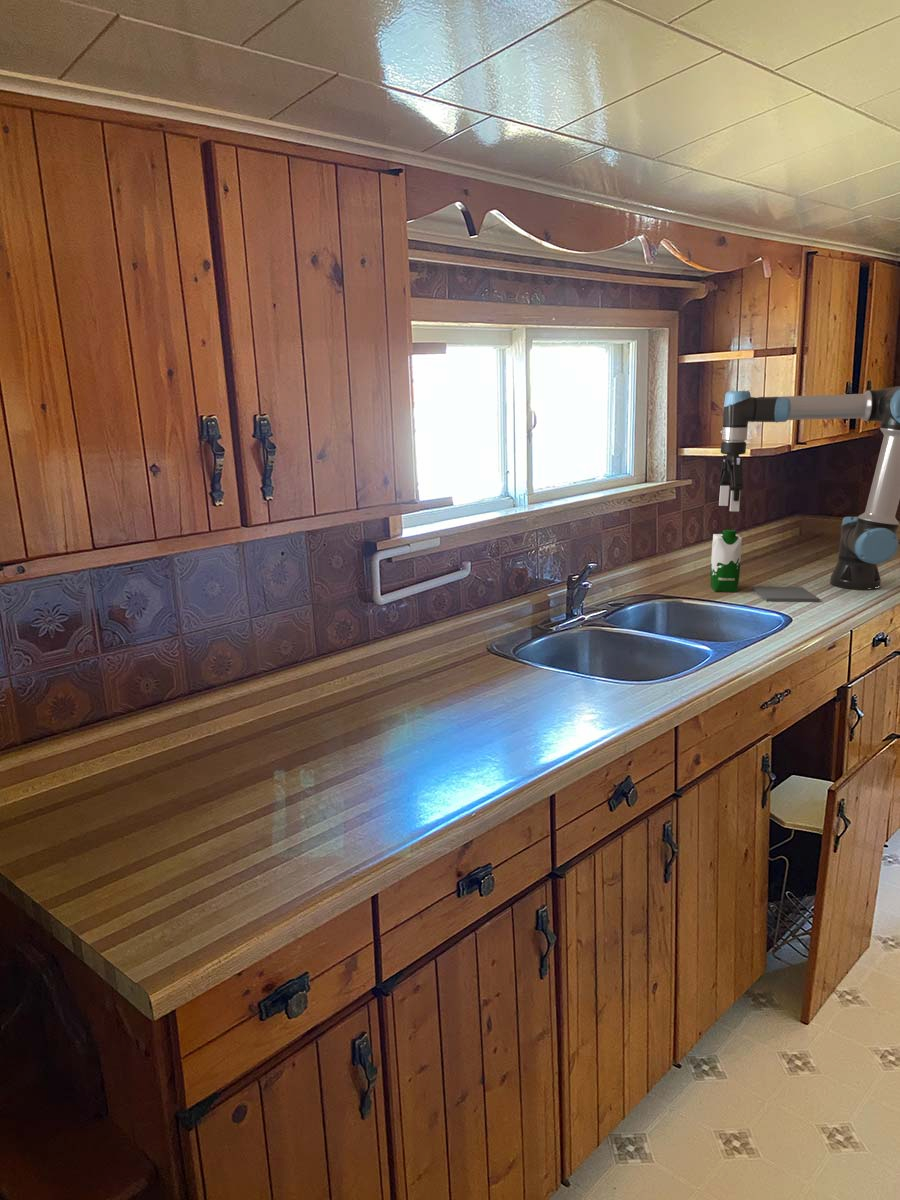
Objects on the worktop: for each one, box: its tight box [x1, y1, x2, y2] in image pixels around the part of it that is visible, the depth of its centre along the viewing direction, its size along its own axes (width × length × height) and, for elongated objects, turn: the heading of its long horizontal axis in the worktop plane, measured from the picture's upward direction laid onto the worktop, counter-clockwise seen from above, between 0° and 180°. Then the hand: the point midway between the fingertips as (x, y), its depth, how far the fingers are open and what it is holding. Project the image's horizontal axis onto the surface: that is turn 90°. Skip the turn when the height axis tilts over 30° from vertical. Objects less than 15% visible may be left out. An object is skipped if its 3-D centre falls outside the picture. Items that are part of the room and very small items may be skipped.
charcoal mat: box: [751, 586, 821, 603], centre depth 266 cm, size 16×16×1 cm
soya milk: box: [710, 529, 743, 593], centre depth 272 cm, size 9×9×20 cm
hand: (728, 508), depth 268 cm, fingers open, 13 cm apart
